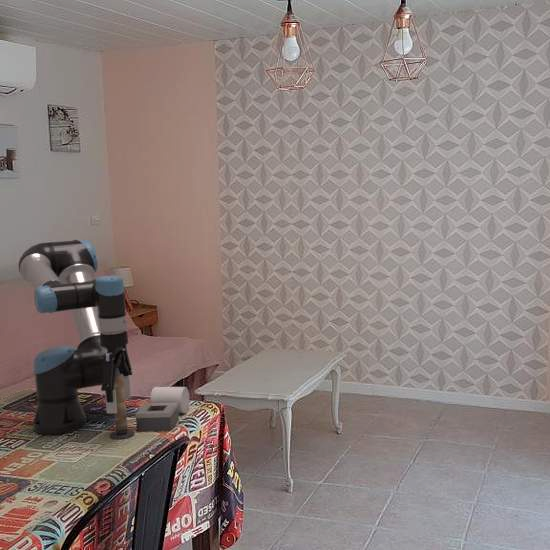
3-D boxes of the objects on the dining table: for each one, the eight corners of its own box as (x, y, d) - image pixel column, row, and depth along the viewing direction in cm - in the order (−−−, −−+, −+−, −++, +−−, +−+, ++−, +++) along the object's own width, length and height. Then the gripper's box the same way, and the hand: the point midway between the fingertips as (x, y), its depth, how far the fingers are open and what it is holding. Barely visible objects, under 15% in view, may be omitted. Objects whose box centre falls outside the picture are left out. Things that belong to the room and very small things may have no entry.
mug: (182, 416, 227) (180, 391, 226) (151, 416, 229) (149, 391, 228) (194, 404, 239) (192, 380, 238) (164, 404, 241) (162, 380, 240)
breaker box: (136, 431, 215) (135, 413, 215) (146, 420, 225) (144, 403, 224) (171, 430, 214) (169, 413, 214) (178, 419, 224) (177, 402, 223)
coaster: (106, 439, 209) (106, 438, 209) (113, 431, 216) (113, 429, 216) (130, 439, 209) (130, 437, 209) (137, 430, 216) (137, 429, 216)
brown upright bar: (114, 435, 211) (109, 376, 209) (118, 431, 214) (113, 373, 212) (125, 435, 211) (121, 376, 209) (129, 431, 214) (124, 373, 212)
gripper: (113, 341, 196) (119, 419, 199) (138, 322, 221) (143, 392, 224) (85, 342, 197) (91, 420, 200) (113, 322, 222) (119, 392, 224)
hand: (119, 405), depth 212 cm, fingers open, 13 cm apart
